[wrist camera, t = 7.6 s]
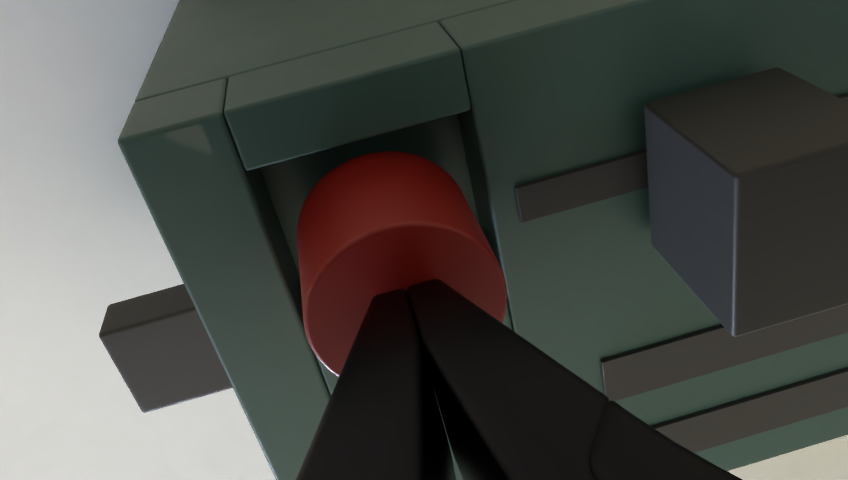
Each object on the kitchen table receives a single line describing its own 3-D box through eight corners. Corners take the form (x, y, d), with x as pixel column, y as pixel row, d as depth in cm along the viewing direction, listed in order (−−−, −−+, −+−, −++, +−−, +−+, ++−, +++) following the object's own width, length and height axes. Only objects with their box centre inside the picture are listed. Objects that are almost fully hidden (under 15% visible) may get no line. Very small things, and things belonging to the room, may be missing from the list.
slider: (778, 65, 10) (905, 127, 8) (771, 210, 12) (879, 297, 10) (641, 102, 10) (736, 175, 8) (649, 245, 11) (732, 340, 9)
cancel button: (451, 128, 11) (491, 197, 9) (481, 275, 12) (521, 362, 10) (273, 177, 10) (275, 258, 9) (324, 319, 12) (335, 415, 10)
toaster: (830, -177, 18) (1261, -165, 10) (803, 183, 23) (1075, 371, 15) (79, 18, 17) (-76, 194, 9) (229, 346, 22) (210, 633, 14)
